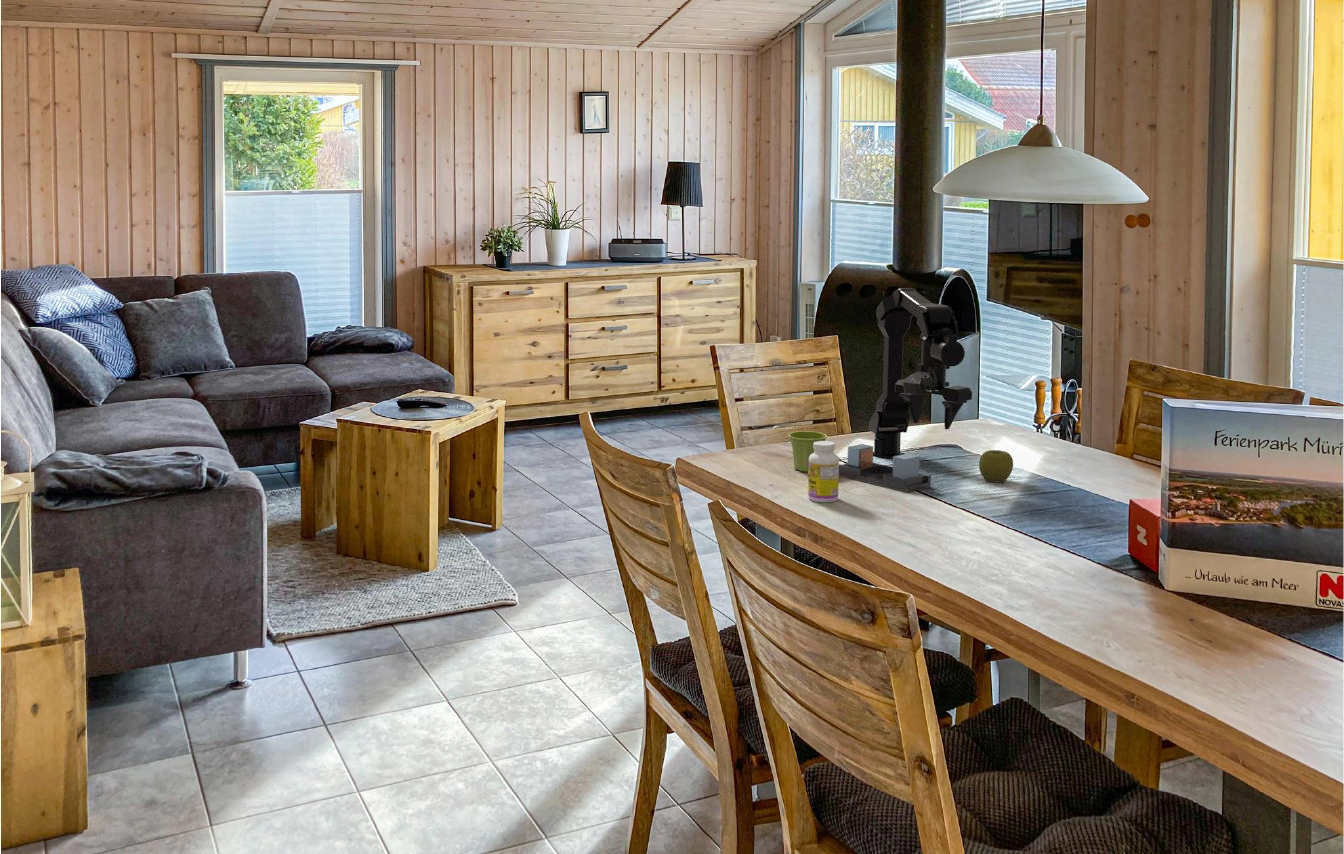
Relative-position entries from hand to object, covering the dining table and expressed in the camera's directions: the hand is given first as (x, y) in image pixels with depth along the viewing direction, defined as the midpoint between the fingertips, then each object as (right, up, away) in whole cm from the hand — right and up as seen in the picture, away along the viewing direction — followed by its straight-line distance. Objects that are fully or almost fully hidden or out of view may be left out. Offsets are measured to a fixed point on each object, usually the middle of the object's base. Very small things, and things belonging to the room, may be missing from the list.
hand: (931, 426), depth 281 cm
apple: (+15, -13, 0) cm, 20 cm away
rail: (-11, -13, +1) cm, 17 cm away
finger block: (-7, -13, -5) cm, 15 cm away
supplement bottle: (-27, -17, -15) cm, 35 cm away
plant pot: (-28, -11, +14) cm, 33 cm away
